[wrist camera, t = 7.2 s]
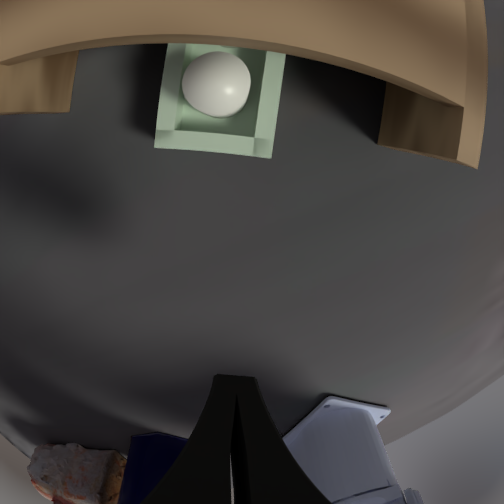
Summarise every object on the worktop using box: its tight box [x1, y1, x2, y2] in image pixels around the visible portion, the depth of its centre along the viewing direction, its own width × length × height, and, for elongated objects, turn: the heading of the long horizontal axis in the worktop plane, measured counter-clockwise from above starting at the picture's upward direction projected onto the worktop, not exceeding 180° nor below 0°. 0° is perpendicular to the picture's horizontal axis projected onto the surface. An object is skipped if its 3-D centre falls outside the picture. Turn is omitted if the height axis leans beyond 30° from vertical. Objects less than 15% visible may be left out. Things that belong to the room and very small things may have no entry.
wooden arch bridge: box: [0, 0, 488, 169], centre depth 9 cm, size 9×19×7 cm, turn 82°
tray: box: [154, 43, 286, 159], centre depth 10 cm, size 9×5×4 cm, turn 173°
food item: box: [27, 443, 127, 504], centre depth 22 cm, size 14×8×10 cm, turn 107°
